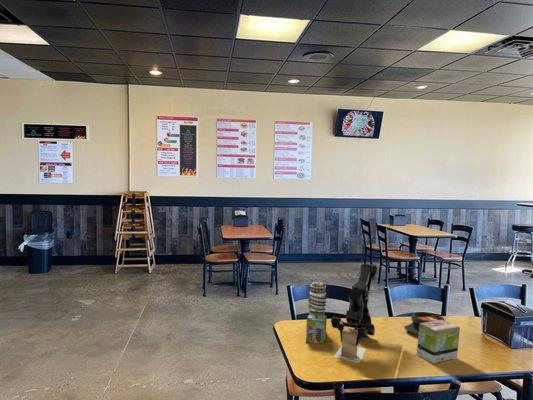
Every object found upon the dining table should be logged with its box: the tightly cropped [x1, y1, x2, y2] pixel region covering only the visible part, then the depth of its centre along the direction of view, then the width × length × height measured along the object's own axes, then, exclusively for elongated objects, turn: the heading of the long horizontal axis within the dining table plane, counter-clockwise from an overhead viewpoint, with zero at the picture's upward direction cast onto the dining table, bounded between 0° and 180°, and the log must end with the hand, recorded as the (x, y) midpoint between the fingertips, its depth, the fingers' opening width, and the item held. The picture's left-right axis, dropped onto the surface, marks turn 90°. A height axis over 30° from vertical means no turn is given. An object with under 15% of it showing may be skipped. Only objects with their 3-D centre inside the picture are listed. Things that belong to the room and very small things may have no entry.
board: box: [333, 344, 367, 364], centre depth 176 cm, size 16×11×1 cm
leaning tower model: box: [307, 281, 328, 315], centre depth 201 cm, size 9×9×25 cm
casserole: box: [404, 311, 446, 336], centre depth 208 cm, size 25×19×8 cm
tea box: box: [416, 319, 461, 364], centre depth 179 cm, size 15×10×15 cm, turn 117°
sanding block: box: [341, 327, 358, 358], centre depth 173 cm, size 4×6×11 cm, turn 66°
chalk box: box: [305, 309, 328, 345], centre depth 190 cm, size 9×9×15 cm
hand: (348, 344), depth 172 cm, fingers closed on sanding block, 6 cm apart
